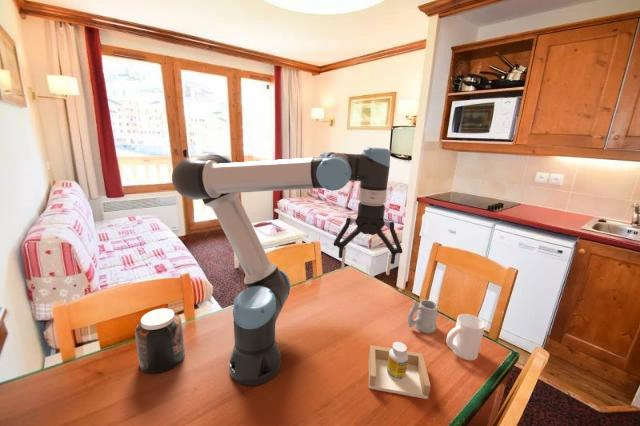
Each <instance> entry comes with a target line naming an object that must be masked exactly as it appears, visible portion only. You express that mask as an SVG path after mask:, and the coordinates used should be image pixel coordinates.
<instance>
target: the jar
mask: <svg viewBox="0 0 640 426" xmlns="http://www.w3.org/2000/svg"><path fill="white" fill-rule="evenodd" d="M134 332H135V333H134V334H135V335H134V336H135V344H136V351H137V352H136V353H137V356H138V357H137V359H138V363H139V368H140V370H141V371H142V372H143V373H146V374H149V375H158V374H162V373H163V374H164V373H165V372H168V371H170V370H172V369H174V368H175V367H177V366H178V365H179V364H180V363H182V361H183V359H184V357H185V341H184V332H183V322H182V319H181V317H180V315H179V314H178V313H175V312H174V310H173V309H170V308H166V307H165V308H163V307H162V308H157V309H153V310H151V311H148V312H147V313H145V314H144V315H143V316H142V317H141V318H140V321H139V322H138V323H137V324H136V326H135V329H134Z"/></svg>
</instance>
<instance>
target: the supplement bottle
mask: <svg viewBox="0 0 640 426" xmlns="http://www.w3.org/2000/svg"><path fill="white" fill-rule="evenodd" d="M407 351H408V347H407V345H406V344H405V343H403V342H401V341H395V342H393V343H392V348H391V350H390V352H389V358H388V366H387V373H388V375H389V376H390V377H391V378H392V379H395V380H402V379H403V378H404V377H405V374H406V367H407V362H408V354H407Z"/></svg>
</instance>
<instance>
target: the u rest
mask: <svg viewBox="0 0 640 426" xmlns="http://www.w3.org/2000/svg"><path fill="white" fill-rule="evenodd" d="M391 349H392V348H391V347H386V346H378V345H371V344H370V345H369V354H368V389H371V390H376V391H380V392H381V391H382V392H387V393H392V394H398V395H403V396H408V397H414V398H420V399H424V400H429V395H430V390H431V382H430V378H429V374H428V370H427V366H426V362H425V359H424V354H423V353H422V352H415V351H409V350H407V354H408V362H407V367H406V374H405V377H404V378H403V379H402V380H395V379H392V378H391V377H390V376H389V375H388V373H387V366H388V358H389V352H390V350H391Z"/></svg>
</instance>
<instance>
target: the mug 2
mask: <svg viewBox="0 0 640 426" xmlns="http://www.w3.org/2000/svg"><path fill="white" fill-rule="evenodd" d="M485 324H486V323H484V321H483V320H482V319H481V318H479V317H477V316H475V315H473V314H470V313H460V314H459V315H458V316H457V319H456V324H455V327H453V328H451V330H449V332H448V333H447V336H446V341H445V342H446V345H447V346H448V348H450V349H451V351H452V352H453V353H454V354H455V355H456V357H458V358H460V359H463V360H466V361H475V360H476V359H477V358H478V357H479V352H480V348H481V343H482V339H483V336H484V331H485V326H486V325H485Z"/></svg>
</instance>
